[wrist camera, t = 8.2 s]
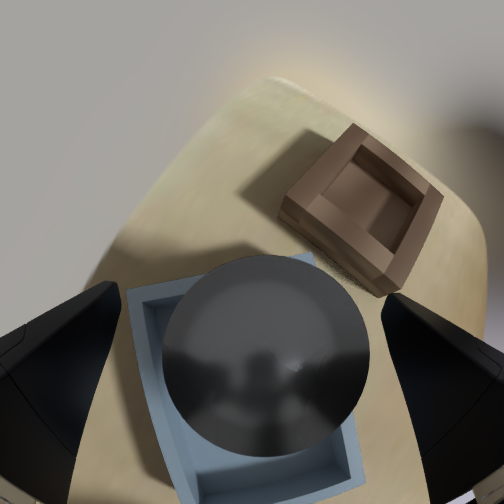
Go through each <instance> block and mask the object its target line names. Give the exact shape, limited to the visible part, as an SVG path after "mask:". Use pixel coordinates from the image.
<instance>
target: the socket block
mask: <svg viewBox="0 0 504 504" xmlns="http://www.w3.org/2000/svg"><path fill="white" fill-rule="evenodd" d="M443 198H444V196H443V195H442V194H441V193H440V192H439V191H438V190H437V189H436V188H435V187H433V186H432V185H431V184H430V183H429V182H428V181H427V180H426V179H425V178H423V177H422V176H421V175H420V174H419V173H418V172H417V171H415V170H414V169H413V168H412V167H411V166H410V165H408V164H407V163H406V162H405V161H404V160H402V159H401V158H400V157H399V156H397V155H396V154H395V153H394V152H392V151H391V150H390V149H388V148H387V147H386V146H385V145H383V144H382V143H381V142H379V141H378V140H377V139H375V138H374V137H373V136H371V135H370V134H368V133H367V132H366V131H364V130H363V129H361V128H360V127H359V126H357V125H356V124H354V123H353V124H352V125H351V126H350V127H349V128H348V129H347V130H346V131H345V132H344V133H343V134H342V135H341V136H340V137H339V138H338V139H337V140H336V141H335V142H334V143H333V144H332V146H331V147H330V148H329V149H328V150H327V151H326V152H325V153H324V154H323V155H322V156H321V157H320V158H319V159H318V160H317V161H316V162H315V163H314V164H313V166H312V167H311V168H310V169H309V170H308V171H307V172H306V173H305V174H304V175H303V176H302V177H301V178H300V179H299V180H298V181H297V182H296V184H295V185H294V186H293V187H292V188H291V189H290V190H289V191H288V192H287V193H286V194H285V197H284V200H283V203H282V205H281V208H280V211H279V214H278V217H279V218H281V219H282V220H283V221H285V222H286V223H287V224H288V225H290V226H291V227H292V228H294V229H295V230H296V231H297V232H299V233H300V234H301V235H302V236H304V237H305V238H306V239H307V240H309V241H310V242H311V243H313V244H314V245H315V246H316V247H318V248H319V249H320V250H321V251H322V252H324V253H325V254H326V255H327V256H329V257H330V258H331V259H332V260H334V261H335V262H336V263H337V264H338V265H340V266H341V267H342V268H343V269H344V270H346V271H347V272H348V273H349V274H351V275H352V276H353V277H354V278H355V279H357V280H358V281H359V282H360V283H361V284H362V285H364V286H365V287H366V288H367V289H368V290H370V291H371V292H372V293H373V294H374V295H375V296H377V297H378V298H381V297H383V296H386V295H388V294H390V293H393V292H395V291H398V290H400V289H402V287H403V285H404V283H405V281H406V279H407V277H408V275H409V273H410V272H411V270H412V268H413V266H414V264H415V262H416V260H417V258H418V256H419V253H420V251H421V249H422V247H423V245H424V243H425V241H426V238H427V236H428V234H429V232H430V230H431V227H432V225H433V223H434V220H435V218H436V215H437V213H438V211H439V208H440V206H441V203H442V201H443Z"/></svg>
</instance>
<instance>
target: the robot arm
mask: <svg viewBox="0 0 504 504" xmlns="http://www.w3.org/2000/svg"><path fill="white" fill-rule="evenodd" d="M120 312H121V298H120V294H119V289H118V285H117V283H116V282H115V281H103V282H101V283H99V284H97V285H95V286H94V287H92V288H90V289H88V290H86V291H84V292H82V293H80V294H78V295H77V296H75V297H73V298H71V299H69V300H67V301H65V302H64V303H62V304H60V305H58V306H56V307H55V308H53V309H51V310H49V311H47V312H45V313H44V314H42V315H40V316H38V317H37V318H35V319H33V320H31V321H29V322H28V323H27V324H24V325H22V326H21V327H19V328H17V329H15V330H13V331H12V332H10V333H8V334H6V335H4V336H2V337H1V338H0V504H36V501H38V502H40V503H42V504H67V499H68V494H69V489H70V484H71V479H72V475H73V470H74V466H75V462H76V458H75V457H77V453H78V449H79V445H80V441H81V437H82V434H83V430H84V427H85V423H86V420H87V416H88V413H89V410H90V407H91V403H92V400H93V397H94V394H95V391H96V388H97V385H98V382H99V379H100V376H101V373H102V371H103V368H104V365H105V362H106V359H107V357H108V354H109V351H110V348H111V345H112V342H113V338H114V334H115V330H116V326H117V322H118V319H119V315H120ZM381 321H382V325H383V328H384V332H385V336H386V340H387V344H388V348H389V352H390V355H391V358H392V361H393V364H394V367H395V370H396V373H397V376H398V379H399V382H400V385H401V388H402V391H403V394H404V398H405V401H406V404H407V407H408V411H409V414H410V418H411V421H412V425H413V428H414V432H415V436H416V439H417V443H418V447H419V451H420V455H421V460H422V464H423V469H424V473H425V478H426V483H427V488H428V493H429V499H430V504H446V503H448V502H450V501H452V500H454V499H456V498H458V497H460V496H462V495H463V494H465V493H467V492H469V491H470V490H473V493H474V495H475V498H474V499H473V500H471V501H469V502H468V503H466V504H504V353H502V352H500V351H499V350H496V349H495V348H493V347H491V346H490V345H488V344H486V343H485V342H483V341H481V340H480V339H478V338H476V337H474V336H473V335H471V334H470V333H468V332H466V331H465V330H463V329H461V328H460V327H458V326H456V325H455V324H453V323H451V322H450V321H448V320H446V319H444V318H443V317H441V316H439V315H438V314H436V313H434V312H432V311H431V310H429V309H427V308H425V307H424V306H422V305H420V304H419V303H417V302H415V301H413V300H411V299H410V298H408V297H406V296H404V295H403V294H401V293H390V294H388V296H387V298H386V301H385V303H384V306H383V309H382V312H381Z"/></svg>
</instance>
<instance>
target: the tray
mask: <svg viewBox="0 0 504 504" xmlns="http://www.w3.org/2000/svg"><path fill="white" fill-rule="evenodd" d="M290 258H294V259H298V260H301V261H304V262H306V263H309V264H312V265H313V266H315V267H316V264H315V261H314V258H313V254H312V252H308V253H304V254H299V255H294V256H290ZM205 275H206V274H203V275H198V276H193V277H188V278H183V279H178V280H173V281H167V282H162V283H157V284H152V285H147V286H142V287H137V288H132V289H127V290H126V295H127V303H128V310H129V317H130V323H131V329H132V335H133V341H134V346H135V351H136V356H137V361H138V366H139V371H140V375H141V380H142V384H143V388H144V392H145V396H146V400H147V404H148V408H149V412H150V415H151V419H152V422H153V426H154V429H155V433H156V436H157V439H158V442H159V445H160V448H161V452H162V455H163V457H164V460H165V463H166V466H167V469H168V472H169V474H170V477H171V480H172V482H173V485H174V487H175V490H176V492H177V495H178V497H179V500H180V502H181V504H312V503H315V502H318V501H321V500H324V499H327V498H330V497H332V496H335V495H338V494H341V493H343V492H346V491H348V490H351V489H353V488H355V487H358V486H360V485H363V484H365V483H366V482H365V475H364V469H363V463H362V457H361V452H360V446H359V441H358V435H357V430H356V425H355V420H354V415H353V411H352V412H351V414H350V415H349V416H348V417H347V419H346V420H345V421H344V422H343V423H342V424H341V426H339V427H338V428H337V429H336V430H335V431H334V432H333V433H332V434H331V435H329V436H328V437H326V438H325V439H323V440H322V441H320V442H319V443H317V444H315V445H313V446H311V447H309V448H307V449H304V450H302V451H299V452H296V453H293V454H288V455H284V456H277V457H251V456H245V455H240V454H236V453H233V452H230V451H227V450H224V449H222V448H220V447H218V446H216V445H214V444H212V443H210V442H209V441H207V440H206V439H204V438H203V437H201V436H200V435H199V434H198V433H197V432H195V431H194V430H193V429H192V428H191V427H190V426H189V425H188V424H187V423H186V421H185V420H184V419H183V418H182V417H181V415H180V414H179V412H178V411H177V409H176V408H175V406H174V404H173V402H172V400H171V398H170V396H169V393H168V390H167V387H166V384H165V380H164V375H163V369H162V349H163V340H164V336H165V332H166V328H167V325H168V323H169V320H170V318H171V315H172V313H173V311H174V310H175V308H176V306H177V304H178V303H179V301H180V300H181V299H182V297H183V296H184V295H185V293H186V292H187V291H188V290H189V289H190V288H191V287H192V286H193V285H194V284H195V283H196V282H197V281H198V280H199V279H201V278H202V277H203V276H205Z"/></svg>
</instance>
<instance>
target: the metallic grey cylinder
mask: <svg viewBox="0 0 504 504" xmlns="http://www.w3.org/2000/svg"><path fill="white" fill-rule="evenodd" d="M369 360H370V349H369V339H368V334H367V329H366V326H365V323H364V320H363V317H362V315H361V313H360V311H359V309H358V307H357V305H356V304H355V302H354V301H353V299H352V298H351V296H350V295H349V294H348V292H347V291H346V290H345V289H344V288H343V287H342V286H341V285H340V284H339V283H338V282H337V281H336V280H335V279H334V278H333V277H331V276H330V275H328V274H327V273H326V272H324V271H323V270H321V269H319V268H317V267H315V266H313V265H312V264H309V263H306V262H304V261H301V260H298V259H294V258H290V257H286V256H277V255H257V256H250V257H245V258H241V259H237V260H234V261H231V262H229V263H226V264H224V265H221V266H219V267H218V268H216V269H214V270H212V271H211V272H209V273H207V274H206V275H205V276H203V277H202V278H201V279H199V280H198V281H197V282H196V283H195V284H194V285H193V286H192V287H191V288H190V289H189V290H188V291H187V292H186V293H185V295H184V296H183V297H182V299H181V300H180V301H179V303H178V304H177V306H176V308H175V310H174V311H173V313H172V315H171V318H170V320H169V323H168V325H167V328H166V332H165V336H164V340H163V349H162V369H163V375H164V380H165V384H166V387H167V390H168V393H169V396H170V398H171V400H172V402H173V404H174V406H175V408H176V409H177V411H178V412H179V414H180V415H181V417H182V418H183V419H184V420H185V421H186V423H187V424H188V425H189V426H190V427H191V428H192V429H193V430H194V431H195V432H197V433H198V434H199V435H200V436H201V437H203V438H204V439H206V440H207V441H209V442H210V443H212V444H214V445H216V446H218V447H220V448H222V449H224V450H227V451H230V452H233V453H236V454H240V455H245V456H251V457H277V456H284V455H288V454H293V453H296V452H299V451H302V450H304V449H307V448H309V447H311V446H313V445H315V444H317V443H319V442H320V441H322V440H323V439H325V438H326V437H328V436H329V435H331V434H332V433H333V432H334V431H335V430H336V429H337V428H338V427H339V426H341V424H342V423H343V422H344V421H345V420H346V419H347V417H348V416H349V415H350V414H351V412H352V411H353V409H354V408H355V406H356V404H357V402H358V400H359V398H360V396H361V394H362V392H363V389H364V386H365V383H366V380H367V375H368V370H369Z"/></svg>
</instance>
